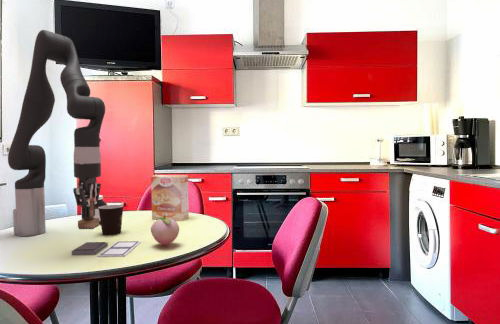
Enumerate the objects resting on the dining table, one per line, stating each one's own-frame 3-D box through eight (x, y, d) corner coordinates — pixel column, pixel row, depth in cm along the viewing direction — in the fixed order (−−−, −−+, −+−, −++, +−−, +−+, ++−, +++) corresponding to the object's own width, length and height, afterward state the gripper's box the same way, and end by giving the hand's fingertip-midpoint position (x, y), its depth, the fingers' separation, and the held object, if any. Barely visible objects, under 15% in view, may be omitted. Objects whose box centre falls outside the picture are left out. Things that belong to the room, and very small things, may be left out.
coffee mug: (115, 236, 122) (114, 209, 122) (94, 235, 124) (93, 208, 124) (132, 229, 134) (132, 203, 133) (113, 228, 135) (112, 203, 135)
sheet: (97, 256, 100) (97, 255, 100) (116, 242, 114) (116, 241, 114) (125, 256, 100) (125, 254, 100) (140, 242, 115) (140, 240, 115)
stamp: (77, 229, 103) (77, 198, 103) (84, 225, 108) (84, 196, 107) (92, 229, 103) (92, 198, 103) (99, 225, 108) (98, 196, 108)
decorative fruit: (184, 246, 110) (184, 215, 109) (161, 251, 104) (161, 218, 104) (169, 240, 116) (169, 211, 116) (147, 245, 111) (146, 214, 110)
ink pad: (71, 255, 101) (71, 250, 101) (85, 246, 110) (85, 241, 110) (95, 254, 101) (95, 249, 101) (107, 246, 110) (107, 241, 110)
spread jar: (78, 224, 143) (77, 197, 143) (98, 219, 154) (97, 193, 154) (101, 226, 139) (100, 198, 139) (120, 220, 150) (119, 194, 150)
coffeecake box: (151, 219, 152) (150, 175, 151) (160, 216, 159) (159, 174, 158) (181, 221, 148) (180, 176, 147) (189, 218, 154) (188, 175, 154)
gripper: (85, 160, 112) (86, 213, 113) (62, 162, 98) (64, 222, 99) (108, 160, 112) (109, 213, 113) (89, 162, 98) (90, 222, 99)
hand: (88, 217), depth 106 cm, fingers closed on stamp, 2 cm apart
